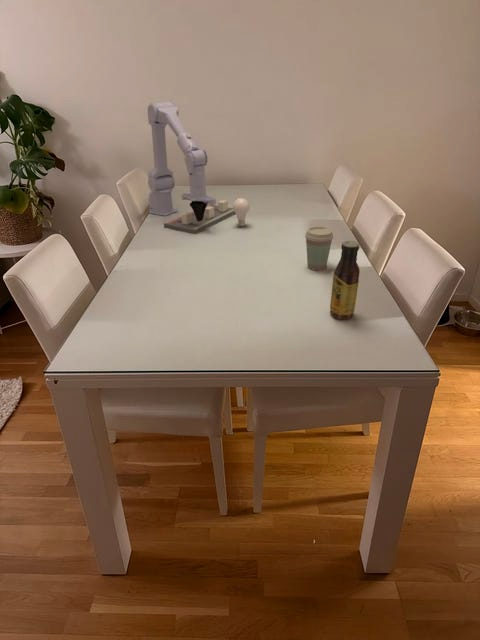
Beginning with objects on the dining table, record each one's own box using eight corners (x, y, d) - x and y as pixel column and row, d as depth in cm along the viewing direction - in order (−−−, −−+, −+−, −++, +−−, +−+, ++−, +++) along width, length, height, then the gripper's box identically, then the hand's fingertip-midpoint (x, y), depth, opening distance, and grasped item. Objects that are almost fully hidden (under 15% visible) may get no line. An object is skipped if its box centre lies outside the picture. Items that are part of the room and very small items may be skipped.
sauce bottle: (326, 309, 123) (333, 238, 113) (349, 308, 123) (358, 237, 113) (333, 322, 117) (340, 248, 107) (357, 320, 118) (367, 247, 108)
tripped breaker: (182, 223, 180) (181, 214, 178) (187, 221, 182) (186, 211, 180) (186, 224, 179) (186, 214, 177) (192, 222, 181) (191, 212, 179)
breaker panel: (164, 227, 181) (164, 223, 180) (208, 207, 203) (208, 203, 202) (195, 234, 174) (195, 230, 174) (237, 212, 196) (237, 208, 195)
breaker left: (218, 211, 193) (218, 202, 191) (223, 208, 195) (222, 200, 193) (223, 212, 192) (222, 202, 190) (227, 209, 194) (227, 200, 192)
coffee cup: (332, 263, 149) (335, 227, 143) (327, 274, 142) (331, 236, 136) (306, 260, 152) (308, 224, 146) (300, 270, 145) (302, 233, 139)
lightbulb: (250, 223, 184) (250, 196, 178) (248, 229, 178) (248, 200, 173) (234, 223, 184) (233, 195, 179) (232, 229, 179) (231, 200, 173)
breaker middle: (204, 217, 185) (203, 208, 184) (209, 215, 188) (209, 206, 186) (209, 218, 184) (208, 209, 182) (214, 216, 187) (213, 207, 185)
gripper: (175, 184, 170) (178, 220, 177) (207, 189, 164) (209, 226, 170) (186, 180, 175) (189, 215, 182) (218, 185, 169) (220, 221, 176)
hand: (199, 220), depth 177 cm, fingers closed
